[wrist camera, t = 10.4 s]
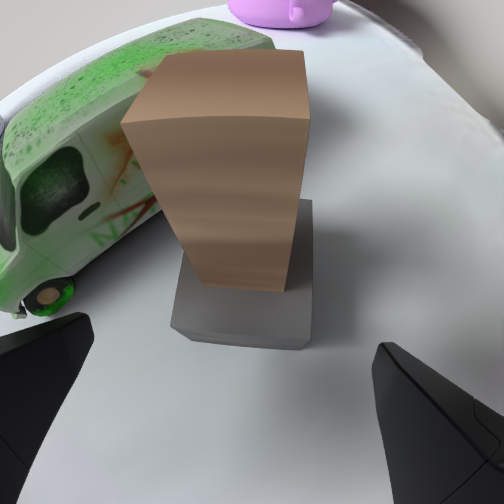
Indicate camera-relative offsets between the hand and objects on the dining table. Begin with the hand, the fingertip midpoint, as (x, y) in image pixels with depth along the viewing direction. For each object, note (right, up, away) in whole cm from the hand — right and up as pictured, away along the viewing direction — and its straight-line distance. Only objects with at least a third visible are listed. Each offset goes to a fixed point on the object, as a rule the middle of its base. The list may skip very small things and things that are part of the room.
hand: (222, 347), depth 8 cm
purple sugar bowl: (+8, +42, +29) cm, 52 cm away
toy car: (-9, +7, +13) cm, 18 cm away
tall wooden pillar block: (+1, +1, +9) cm, 9 cm away
